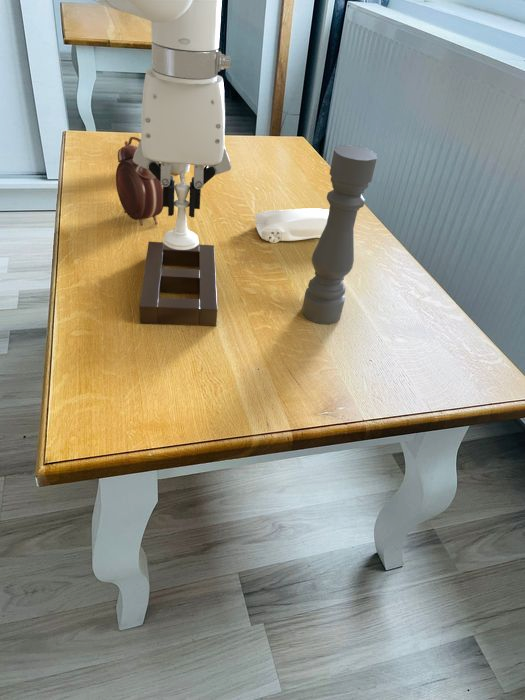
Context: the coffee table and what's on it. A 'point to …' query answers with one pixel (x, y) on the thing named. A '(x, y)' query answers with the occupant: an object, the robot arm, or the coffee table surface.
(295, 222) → the toy car
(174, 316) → the socket block
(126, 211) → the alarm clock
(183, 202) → the chess piece
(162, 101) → the robot arm
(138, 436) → the coffee table surface
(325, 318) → the candle holder
